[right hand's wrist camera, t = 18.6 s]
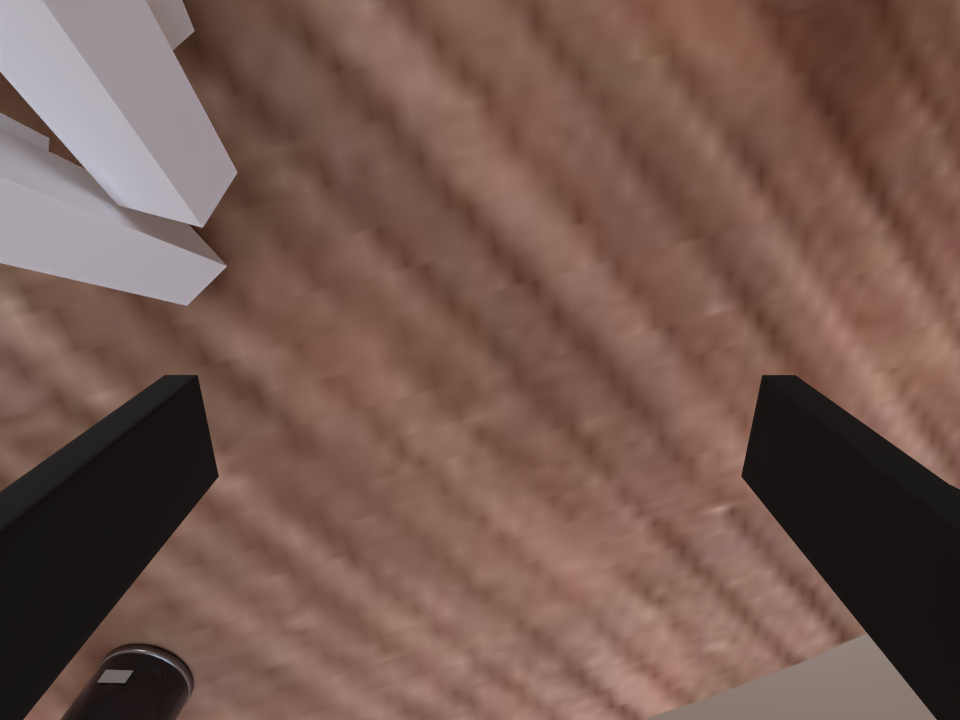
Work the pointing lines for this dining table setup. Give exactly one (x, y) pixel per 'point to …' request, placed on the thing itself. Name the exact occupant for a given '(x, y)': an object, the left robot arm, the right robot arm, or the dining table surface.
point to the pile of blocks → (108, 148)
